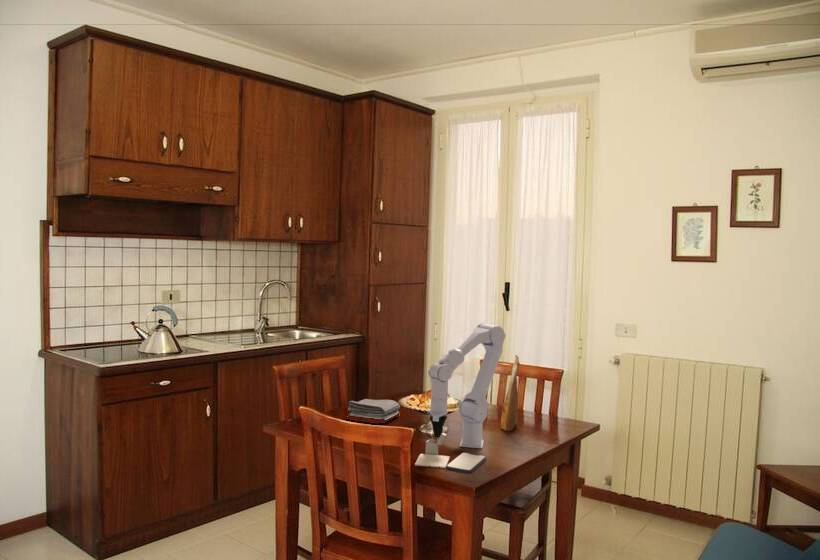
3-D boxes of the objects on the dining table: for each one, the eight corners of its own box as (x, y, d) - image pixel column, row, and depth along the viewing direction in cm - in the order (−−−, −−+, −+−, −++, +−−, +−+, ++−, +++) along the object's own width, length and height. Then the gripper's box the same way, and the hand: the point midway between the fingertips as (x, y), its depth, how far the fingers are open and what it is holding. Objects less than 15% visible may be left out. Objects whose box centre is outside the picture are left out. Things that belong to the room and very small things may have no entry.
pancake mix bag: (520, 421, 265) (523, 354, 264) (516, 433, 246) (519, 361, 245) (504, 419, 267) (507, 353, 265) (498, 431, 248) (501, 360, 247)
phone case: (470, 475, 199) (487, 460, 213) (470, 470, 199) (487, 456, 213) (444, 471, 203) (462, 456, 217) (444, 466, 203) (462, 451, 217)
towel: (385, 426, 251) (386, 406, 251) (344, 420, 258) (345, 401, 258) (400, 417, 265) (401, 399, 265) (361, 412, 272) (361, 394, 272)
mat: (420, 454, 216) (420, 453, 216) (449, 457, 214) (449, 456, 214) (414, 465, 205) (414, 463, 205) (445, 468, 203) (445, 466, 203)
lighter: (425, 453, 217) (426, 430, 217) (427, 452, 219) (428, 429, 219) (443, 457, 214) (444, 433, 214) (446, 456, 216) (446, 432, 215)
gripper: (430, 392, 228) (429, 430, 228) (424, 401, 214) (423, 441, 214) (450, 394, 227) (449, 432, 227) (445, 403, 212) (443, 443, 213)
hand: (437, 436), depth 221 cm, fingers closed
